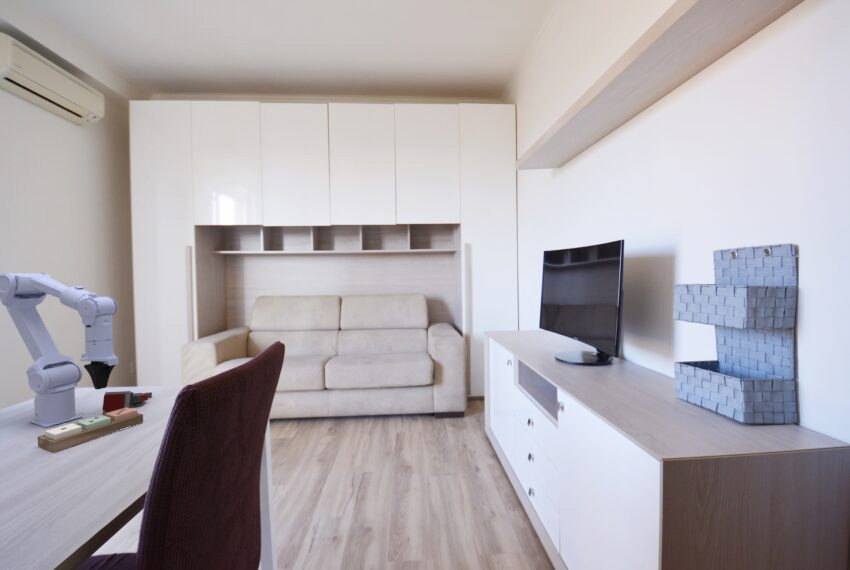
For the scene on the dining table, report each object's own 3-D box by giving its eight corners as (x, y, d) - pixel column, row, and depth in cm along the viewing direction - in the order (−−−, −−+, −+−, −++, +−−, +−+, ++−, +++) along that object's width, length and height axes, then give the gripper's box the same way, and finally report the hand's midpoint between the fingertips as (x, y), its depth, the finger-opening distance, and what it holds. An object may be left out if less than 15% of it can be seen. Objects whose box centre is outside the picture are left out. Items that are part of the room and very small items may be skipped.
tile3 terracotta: (105, 425, 98) (104, 413, 98) (126, 419, 103) (126, 407, 103) (115, 428, 96) (115, 416, 96) (136, 421, 101) (136, 409, 101)
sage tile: (77, 434, 93) (76, 421, 93) (100, 427, 98) (100, 414, 97) (87, 438, 91) (86, 424, 91) (111, 430, 96) (110, 417, 95)
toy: (128, 406, 121) (94, 415, 106) (130, 387, 122) (97, 393, 107) (156, 405, 122) (127, 413, 108) (158, 386, 123) (129, 391, 109)
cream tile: (45, 444, 88) (44, 430, 87) (72, 436, 92) (71, 422, 92) (55, 448, 85) (54, 434, 85) (82, 439, 90) (81, 426, 90)
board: (37, 446, 87) (37, 436, 87) (126, 418, 104) (126, 410, 104) (54, 452, 84) (53, 442, 84) (143, 422, 101) (142, 414, 101)
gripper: (67, 340, 100) (68, 389, 100) (95, 344, 94) (97, 396, 94) (98, 336, 106) (100, 382, 106) (126, 339, 100) (128, 388, 101)
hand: (100, 388), depth 101 cm, fingers closed
